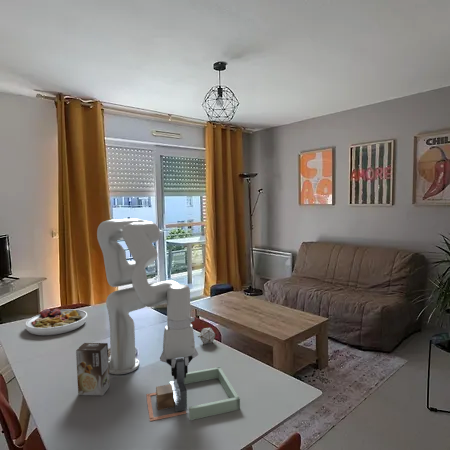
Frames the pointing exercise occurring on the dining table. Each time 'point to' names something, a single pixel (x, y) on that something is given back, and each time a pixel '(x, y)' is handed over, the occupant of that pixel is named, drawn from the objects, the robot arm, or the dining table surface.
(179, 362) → the rake
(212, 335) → the game die
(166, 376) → the dining table surface
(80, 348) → the coffee box
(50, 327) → the plate of food
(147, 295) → the robot arm
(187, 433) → the dining table surface
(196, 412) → the sage pen
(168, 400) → the walnut block
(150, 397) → the terracotta bay outline
